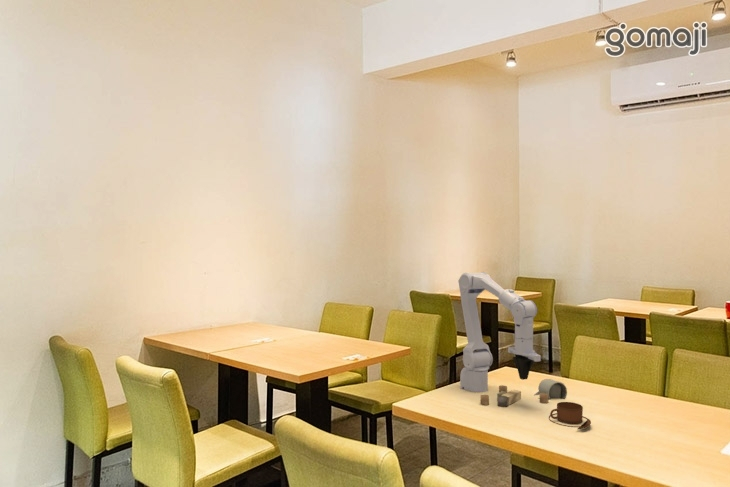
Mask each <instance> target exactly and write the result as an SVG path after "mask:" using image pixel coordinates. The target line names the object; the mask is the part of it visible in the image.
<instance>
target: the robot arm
mask: <svg viewBox="0 0 730 487" xmlns="http://www.w3.org/2000/svg"><path fill="white" fill-rule="evenodd" d="M457 280H458V282H457V283H458V286H459V287H458V288H459V294H460V301H461V309H462V314H463V320H464V321H463V322H464V327H465V332H466V333H465V334H466V339H467V344H466V345H465V346H464V347H463V349H462V352H463V354H462V355H463V356H462V363H463V365H464V367H463V368H462V369H461V371H460V376H459V377H460V379H459V380H460V382H459V389H460V390H465V391H468V392H473V393H486V392H488V382H489V381H488V380H489V378H488V377H489V374H488V373H489V372H488V371H489V370H490V367H491V366H492V364H493V361H494V358H493V354H492V353H491V350H490V347H489V345H488V344H487V343H485V342H484V339H483V334H482V328H481V327H482V326H481V322H480V316H479V310H478V305H477V297H478V296H479V295H480V294H482V293H483V292H484V291H487V292H488V293H491V294H492V295H493V296H495V297H497V298H498V302H499V304H501V305H502V306H503V307H505V308H506V309H507V310H509V312H510V313H511V316H512V318H513V322H514V346H507V353H509V354H514V355H516V356H513V357H512V359H513V362H514V363H515V365H516V369H517V372H518V376H519V379H520V380H522V381H523V380H528V378H529V374H530V370H531V368H532V366H533V364H534V363H537V362H542V360H541V358H542V356H541V355H540V354H538V353H537V352H536V350H534V318H535V317H536V316H537V313H538V308H537V305H536V303H535V302H534V301H533V300H532V299H531V300H529V299H527V300H525V298H524V297H523V296H520V295H518V294H517V293H516V292H515V290H513V288H506V289H505V288H503V287H502V286H500V284H498V283H497V282H496V281H494V280H493V279H492V277H491V275H490V274H487V272H484V271H481V272H463V273H462V274H461V275H460V277H459V278H458V279H457ZM475 350H476V351H475Z"/></svg>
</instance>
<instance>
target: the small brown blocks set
mask: <svg viewBox="0 0 730 487" xmlns="http://www.w3.org/2000/svg"><path fill="white" fill-rule="evenodd" d="M507 392H508V386H507V385H502V384H501V385H498V393H497V394H496V397H497V398H496V402H498V396H501V395H503V394H505V393H507ZM539 398H540V399H539V403H540V404H549V399H548V394H547V393H540V395H539ZM479 399H480V400H479V401H480V402H479V403H480V405H481V406H485V407H486V406H489V405H490V396H489V395H487V394H480V397H479Z"/></svg>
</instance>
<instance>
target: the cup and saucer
mask: <svg viewBox="0 0 730 487" xmlns="http://www.w3.org/2000/svg"><path fill="white" fill-rule="evenodd" d="M583 409H584V408H583V405H581V404H579V403H576V402H573V401H561V402H557V404H556V408H553V409H551V411H550V412H549V416H548V419H549V421H550V422H552V423H553V424H557V425H559V426H564V427H569V428H570V427H571V428H577V430H583V429H586V428H588V427H590V426H591V424H592V421H591V419H589V418H587V417H585V416H583V413H584V412H583ZM554 412H556V413H554ZM551 419H553V420H556V419H557V420H558V421H559V422H560V423H558V422H555V421H553V420H551ZM583 419H585V421H584V422H583ZM582 422H583V423H582ZM561 423H562V424H561ZM563 423H564V424H563ZM581 423H582V424H581ZM566 424H570V425H566ZM578 424H581V425H580V426H577V425H578ZM573 425H576V426H573Z"/></svg>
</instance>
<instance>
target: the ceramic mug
mask: <svg viewBox="0 0 730 487" xmlns="http://www.w3.org/2000/svg"><path fill="white" fill-rule="evenodd" d="M537 390H538V391H537V392H535V393H534V394H533V396H534V397H535V396H538V395H539V396H540V393H547V394H548V400H551V401H552V399H561V400H566V398H567V395H568V388H567V386H566V385H565V384H564V383H563V382H561V381H558V380H555V379H552V378H545V379H542V380H541V381H540V382H539V384H538V389H537ZM538 399H539V400H540V397H538V398H537V400H538Z"/></svg>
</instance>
